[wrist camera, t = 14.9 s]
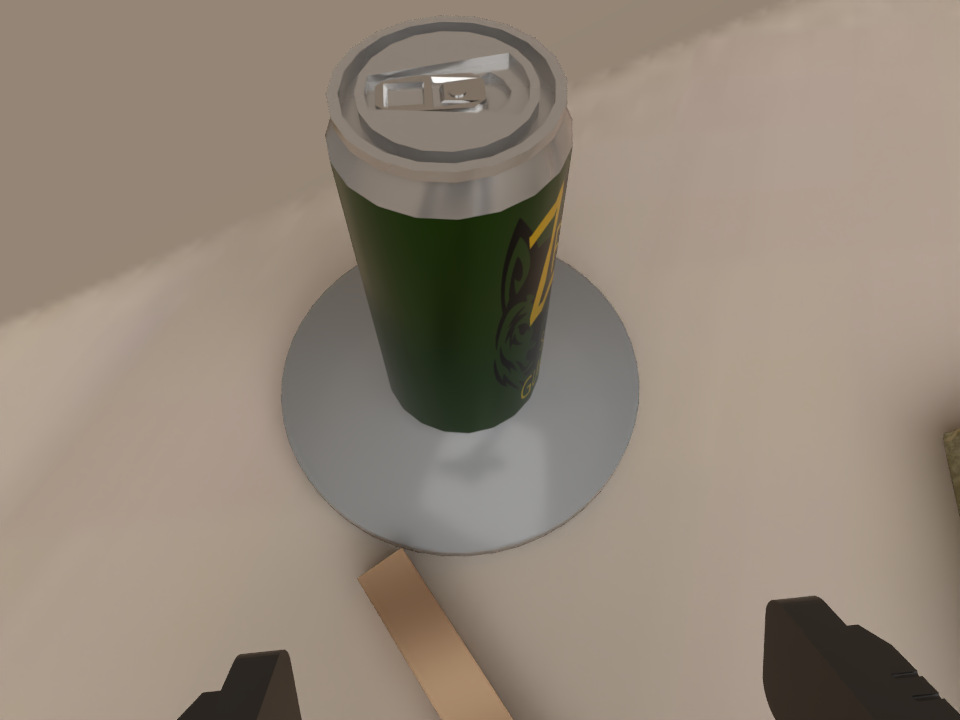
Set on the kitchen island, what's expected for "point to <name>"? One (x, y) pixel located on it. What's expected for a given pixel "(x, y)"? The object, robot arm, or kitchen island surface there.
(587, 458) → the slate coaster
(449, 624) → the beech turner
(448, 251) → the beer can
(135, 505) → the kitchen island surface
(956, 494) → the decorative tile
